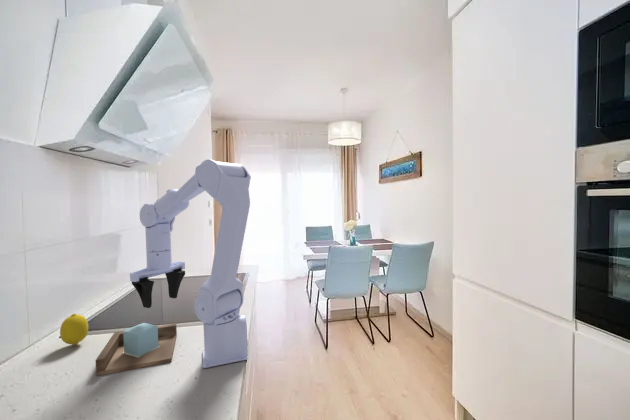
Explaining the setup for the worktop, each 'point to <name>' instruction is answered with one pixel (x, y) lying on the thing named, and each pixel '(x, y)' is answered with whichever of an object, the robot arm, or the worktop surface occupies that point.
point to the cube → (140, 339)
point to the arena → (120, 361)
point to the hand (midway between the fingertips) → (160, 302)
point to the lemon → (74, 329)
